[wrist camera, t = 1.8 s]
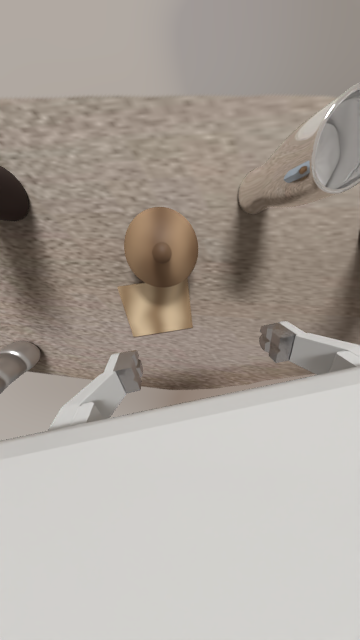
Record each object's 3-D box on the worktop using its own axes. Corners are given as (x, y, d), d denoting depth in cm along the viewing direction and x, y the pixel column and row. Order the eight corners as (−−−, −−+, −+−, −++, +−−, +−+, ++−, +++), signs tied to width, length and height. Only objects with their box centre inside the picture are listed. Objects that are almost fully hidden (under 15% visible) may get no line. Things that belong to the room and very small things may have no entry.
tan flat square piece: (186, 276, 31) (187, 276, 31) (192, 326, 37) (192, 327, 36) (117, 286, 31) (117, 287, 30) (134, 336, 36) (133, 337, 36)
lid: (193, 203, 22) (199, 196, 18) (199, 280, 27) (204, 287, 23) (115, 214, 21) (106, 209, 18) (136, 290, 27) (132, 298, 23)
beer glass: (278, 204, 27) (390, 170, 14) (241, 225, 28) (311, 211, 15) (271, 154, 24) (407, 48, 11) (229, 179, 25) (306, 110, 12)
